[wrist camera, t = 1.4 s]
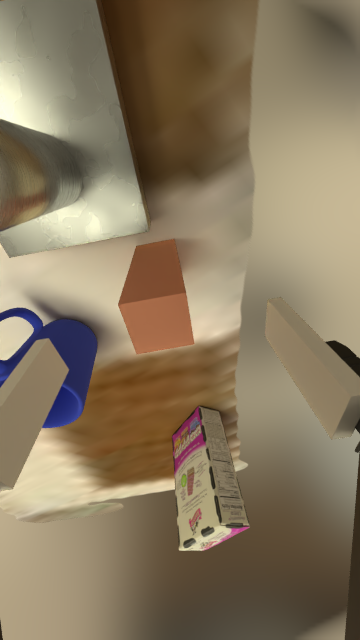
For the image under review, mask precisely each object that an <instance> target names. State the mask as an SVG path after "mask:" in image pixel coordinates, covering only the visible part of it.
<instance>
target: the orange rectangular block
mask: <svg viewBox="0 0 360 640" xmlns="http://www.w3.org/2000/svg"><path fill="white" fill-rule="evenodd" d="M118 306H119V309H120V311H121V314H122V316H123V319H124V322H125V324H126V327H127V330H128V332H129V335H130V338H131V340H132V343H133V345H134V348H135V351H136V353H137V354H141V353H147V352H152V351H158V350H164V349H170V348H175V347H181V346H187V345H193V344H194V339H193V333H192V327H191V320H190V314H189V308H188V302H187V296H186V290H185V286H184V281H183V277H182V272H181V267H180V263H179V258H178V254H177V249H176V244H175V240H174V239H171V240H166V241H161V242H155V243H150V244H145V245H139V246H136V249H135V252H134V255H133V258H132V262H131V265H130V268H129V271H128V275H127V278H126V281H125V284H124V287H123V291H122V294H121V297H120V300H119V303H118Z"/></svg>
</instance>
